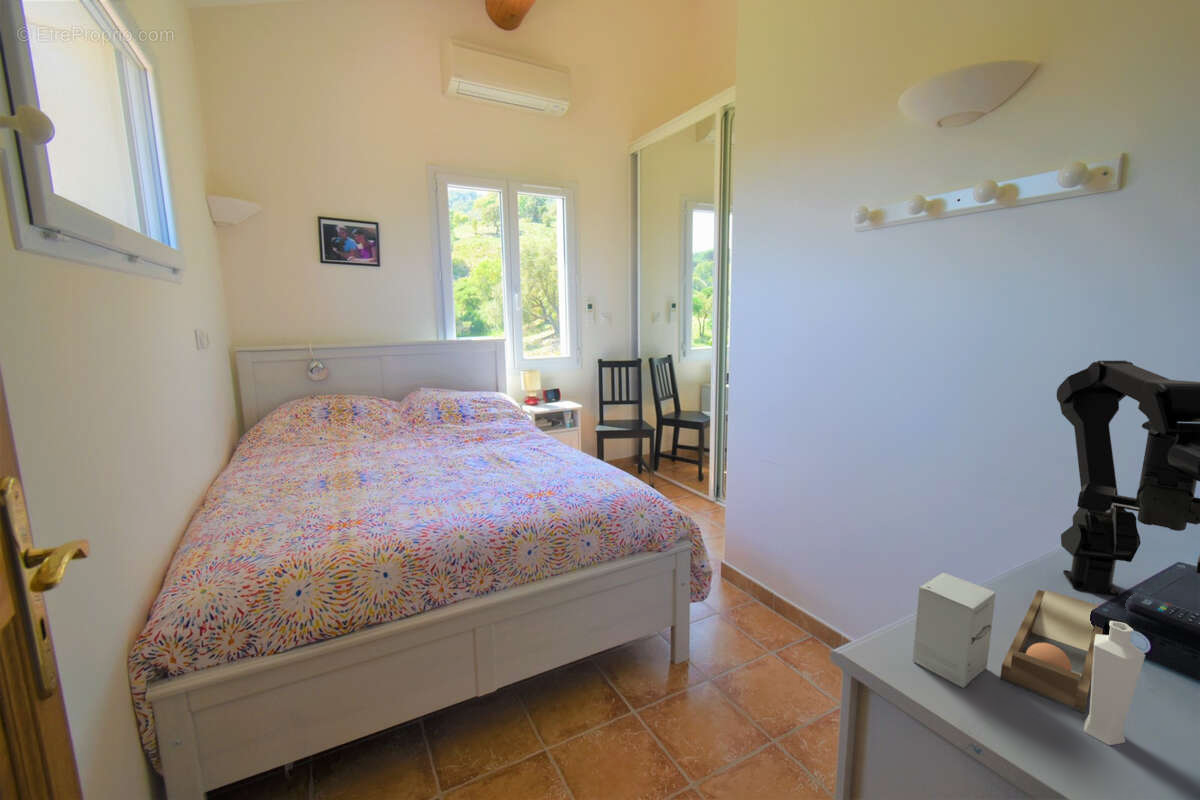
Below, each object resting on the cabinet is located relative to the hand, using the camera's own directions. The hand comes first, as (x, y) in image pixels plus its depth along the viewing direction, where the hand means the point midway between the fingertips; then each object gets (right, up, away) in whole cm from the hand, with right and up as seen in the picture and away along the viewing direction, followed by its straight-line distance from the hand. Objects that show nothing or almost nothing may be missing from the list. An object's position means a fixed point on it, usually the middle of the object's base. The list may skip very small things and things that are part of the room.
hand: (1153, 561), depth 82 cm
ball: (-22, -12, -7) cm, 26 cm away
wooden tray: (-15, -13, 0) cm, 20 cm away
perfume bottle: (-23, -17, -16) cm, 32 cm away
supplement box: (-33, -15, -3) cm, 37 cm away
